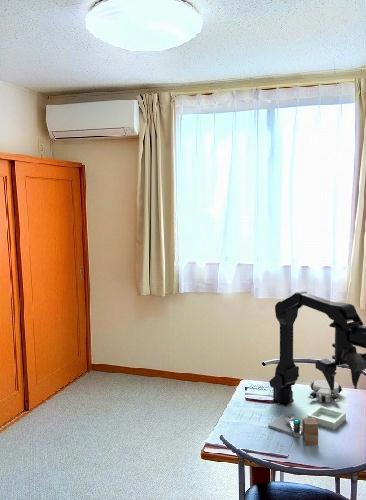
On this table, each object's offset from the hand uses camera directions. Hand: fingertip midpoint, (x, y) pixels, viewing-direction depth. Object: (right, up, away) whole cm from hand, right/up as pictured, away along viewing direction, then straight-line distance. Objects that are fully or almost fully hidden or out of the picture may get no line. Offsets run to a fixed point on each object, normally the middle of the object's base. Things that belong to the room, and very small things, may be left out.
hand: (343, 387), depth 154 cm
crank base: (-17, -14, +4) cm, 22 cm away
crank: (-17, -14, -1) cm, 22 cm away
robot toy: (+2, -12, +27) cm, 30 cm away
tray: (-3, -14, +7) cm, 16 cm away
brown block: (-13, -15, -7) cm, 21 cm away
